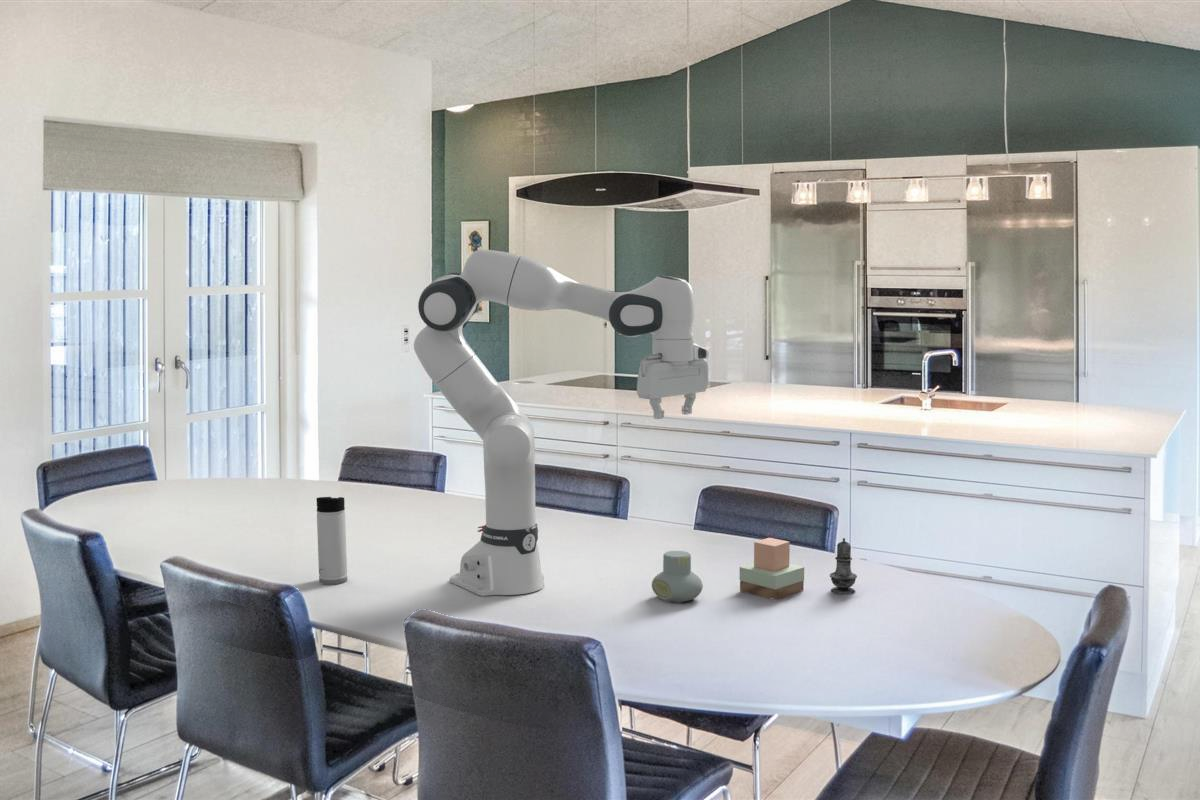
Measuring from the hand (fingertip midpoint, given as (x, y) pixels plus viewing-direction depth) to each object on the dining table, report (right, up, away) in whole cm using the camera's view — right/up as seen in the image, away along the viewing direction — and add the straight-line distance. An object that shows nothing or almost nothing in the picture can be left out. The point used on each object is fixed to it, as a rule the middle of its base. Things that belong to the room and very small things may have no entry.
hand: (672, 416), depth 248 cm
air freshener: (+1, -40, 0) cm, 40 cm away
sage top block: (+22, -36, +6) cm, 43 cm away
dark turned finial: (+38, -39, +5) cm, 54 cm away
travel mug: (-77, -38, +16) cm, 87 cm away
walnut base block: (+22, -39, +6) cm, 45 cm away
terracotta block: (+22, -33, +6) cm, 40 cm away
